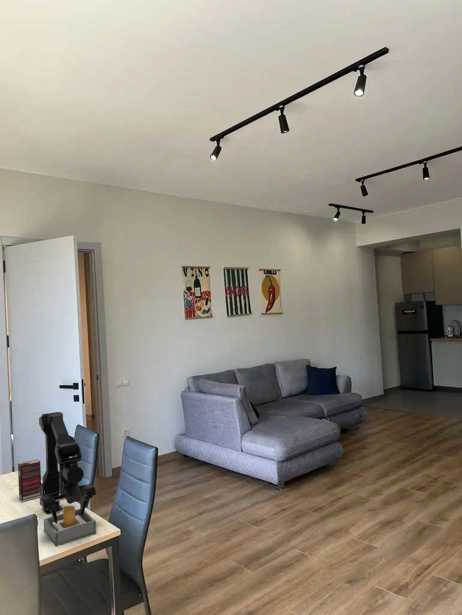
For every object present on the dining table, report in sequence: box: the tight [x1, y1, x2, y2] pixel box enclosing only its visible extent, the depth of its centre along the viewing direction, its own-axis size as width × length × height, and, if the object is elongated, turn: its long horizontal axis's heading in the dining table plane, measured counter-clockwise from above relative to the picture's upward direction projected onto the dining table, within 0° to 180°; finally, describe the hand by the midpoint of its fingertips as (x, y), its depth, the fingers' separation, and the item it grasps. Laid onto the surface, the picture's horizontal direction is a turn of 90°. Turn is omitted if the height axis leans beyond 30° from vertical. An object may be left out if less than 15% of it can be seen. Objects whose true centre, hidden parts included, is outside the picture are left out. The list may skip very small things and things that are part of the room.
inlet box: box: [43, 508, 97, 547], centre depth 163 cm, size 15×14×4 cm
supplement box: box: [17, 459, 42, 503], centre depth 198 cm, size 9×5×16 cm, turn 128°
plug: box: [62, 505, 76, 528], centre depth 163 cm, size 4×4×8 cm
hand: (69, 519), depth 163 cm, fingers open, 9 cm apart
